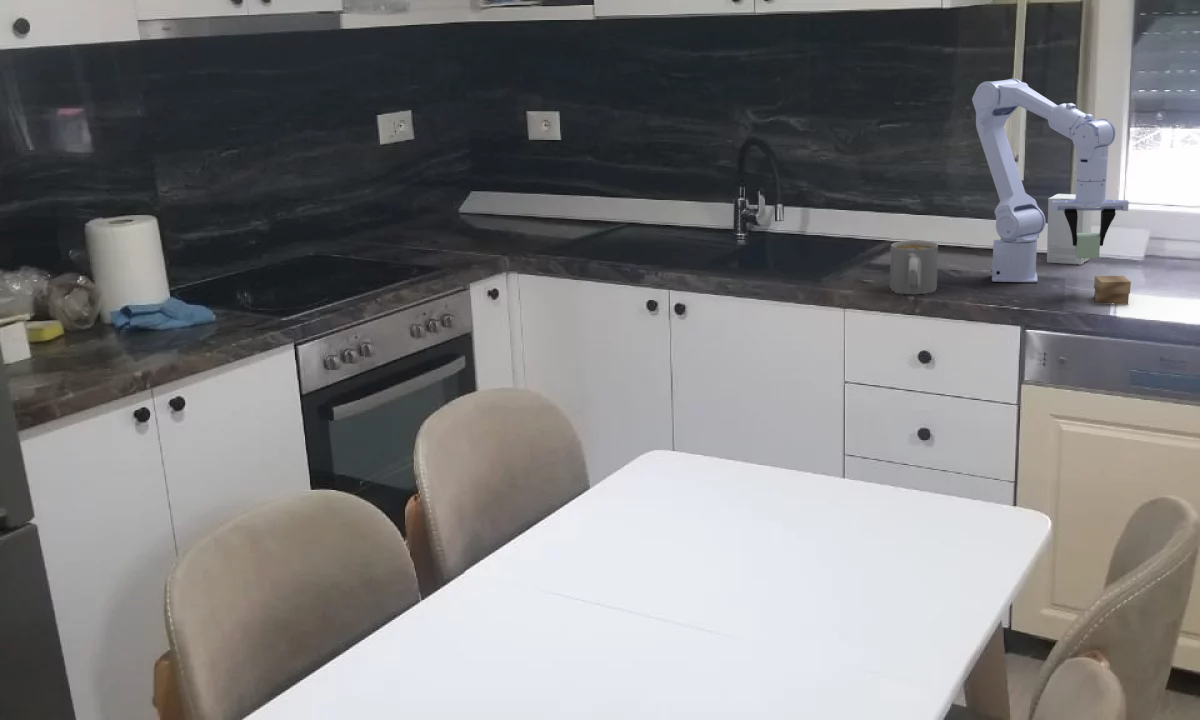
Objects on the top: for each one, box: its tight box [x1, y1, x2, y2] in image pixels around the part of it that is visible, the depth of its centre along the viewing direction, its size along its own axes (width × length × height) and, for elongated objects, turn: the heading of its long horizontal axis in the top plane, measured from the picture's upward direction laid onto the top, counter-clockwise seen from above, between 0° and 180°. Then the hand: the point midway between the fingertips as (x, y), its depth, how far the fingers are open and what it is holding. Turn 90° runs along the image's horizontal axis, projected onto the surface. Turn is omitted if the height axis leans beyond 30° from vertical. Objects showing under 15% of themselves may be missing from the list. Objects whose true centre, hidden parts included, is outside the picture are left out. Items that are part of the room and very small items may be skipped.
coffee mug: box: [889, 240, 939, 294], centre depth 256 cm, size 13×10×10 cm
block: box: [1075, 232, 1101, 259], centre depth 246 cm, size 4×4×4 cm
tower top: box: [1093, 275, 1132, 295], centre depth 240 cm, size 6×6×2 cm
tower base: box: [1093, 288, 1130, 305], centre depth 241 cm, size 6×6×2 cm
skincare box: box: [1046, 193, 1092, 266], centre depth 274 cm, size 8×7×16 cm
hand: (1087, 245), depth 246 cm, fingers closed on block, 4 cm apart
